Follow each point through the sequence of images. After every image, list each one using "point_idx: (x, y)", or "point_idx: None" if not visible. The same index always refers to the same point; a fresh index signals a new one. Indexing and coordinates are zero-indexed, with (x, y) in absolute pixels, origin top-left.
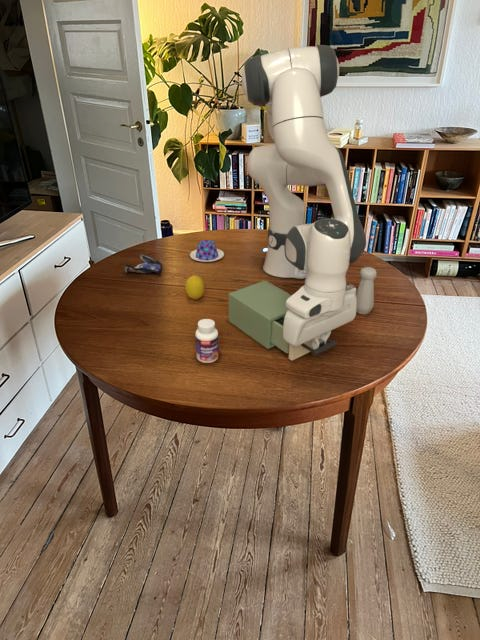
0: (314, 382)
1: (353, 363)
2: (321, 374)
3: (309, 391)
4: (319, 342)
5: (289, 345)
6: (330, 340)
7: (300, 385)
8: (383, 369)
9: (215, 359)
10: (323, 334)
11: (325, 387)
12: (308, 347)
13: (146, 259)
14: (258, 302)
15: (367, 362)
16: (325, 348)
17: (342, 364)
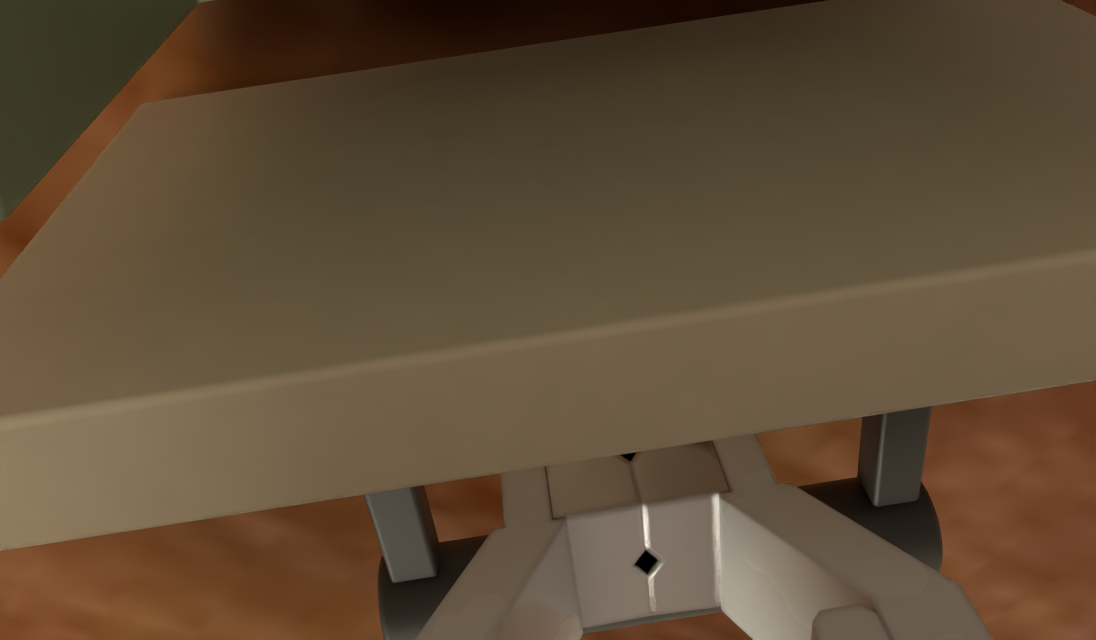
0: (301, 552)
1: (928, 474)
2: (461, 484)
3: (171, 628)
4: (605, 604)
5: (31, 244)
6: (903, 487)
7: (113, 536)
8: (1062, 632)
9: None
10: (807, 613)
11: (369, 636)
12: (382, 500)
13: None
14: None
15: (1059, 514)
16: (636, 623)
17: (813, 442)
